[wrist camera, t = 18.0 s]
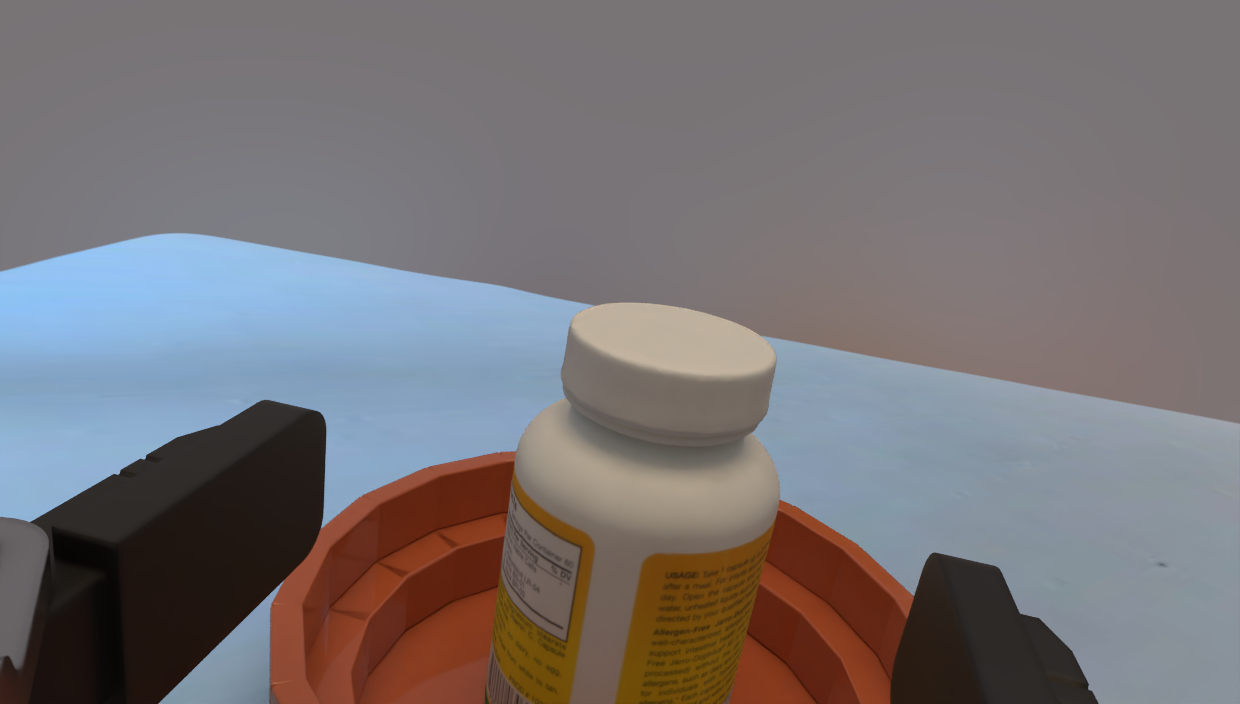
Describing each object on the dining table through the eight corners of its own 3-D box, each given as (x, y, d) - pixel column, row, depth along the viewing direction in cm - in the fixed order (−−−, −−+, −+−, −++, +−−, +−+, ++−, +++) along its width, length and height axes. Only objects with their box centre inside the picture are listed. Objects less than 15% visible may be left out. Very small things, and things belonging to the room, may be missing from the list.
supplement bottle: (442, 786, 17) (486, 344, 14) (525, 627, 22) (572, 276, 19) (702, 866, 16) (813, 415, 13) (727, 682, 21) (812, 324, 18)
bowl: (635, 523, 29) (654, 418, 28) (1035, 830, 19) (1094, 688, 18) (185, 662, 20) (180, 516, 18) (496, 1389, 10) (535, 1185, 9)
